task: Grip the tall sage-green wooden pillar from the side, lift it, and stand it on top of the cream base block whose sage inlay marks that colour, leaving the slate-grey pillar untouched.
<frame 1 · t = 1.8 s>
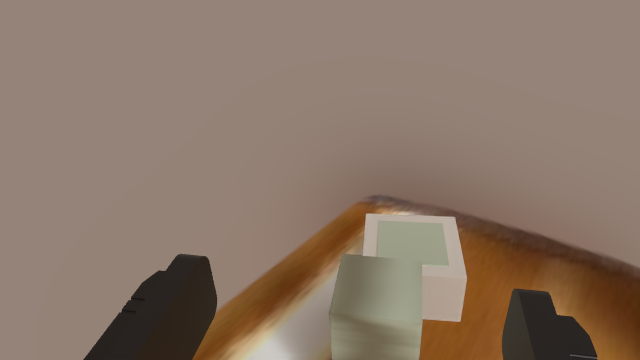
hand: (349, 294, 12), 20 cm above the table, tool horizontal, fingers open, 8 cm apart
cream base block: (408, 285, 40), on the table
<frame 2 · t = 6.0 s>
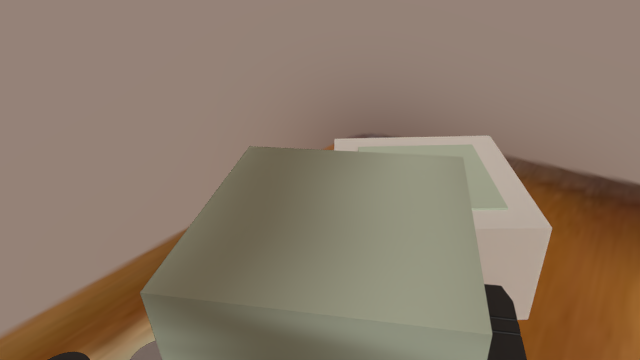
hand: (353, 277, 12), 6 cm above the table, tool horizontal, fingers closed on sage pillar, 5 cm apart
cream base block: (416, 260, 22), on the table
when the fingers open (12 cm above the table, at t = 10.9 s): sage pillar drops 2 cm, point 5 cm above the table.
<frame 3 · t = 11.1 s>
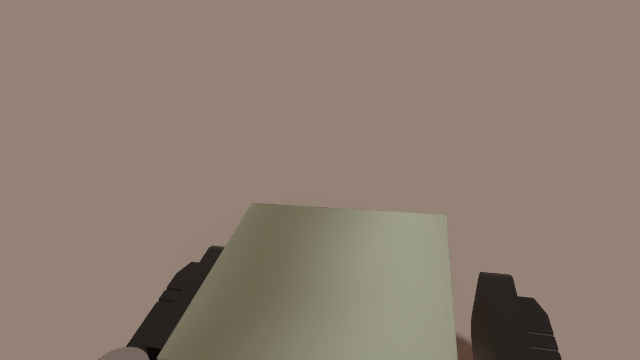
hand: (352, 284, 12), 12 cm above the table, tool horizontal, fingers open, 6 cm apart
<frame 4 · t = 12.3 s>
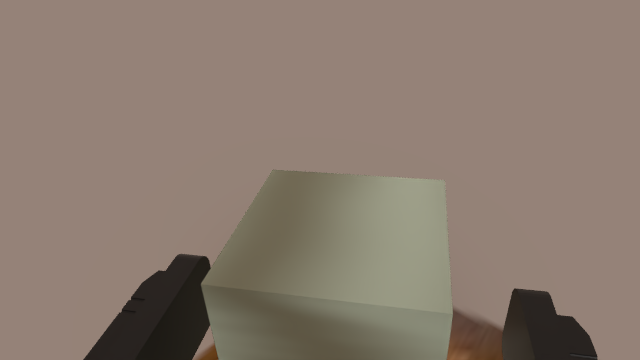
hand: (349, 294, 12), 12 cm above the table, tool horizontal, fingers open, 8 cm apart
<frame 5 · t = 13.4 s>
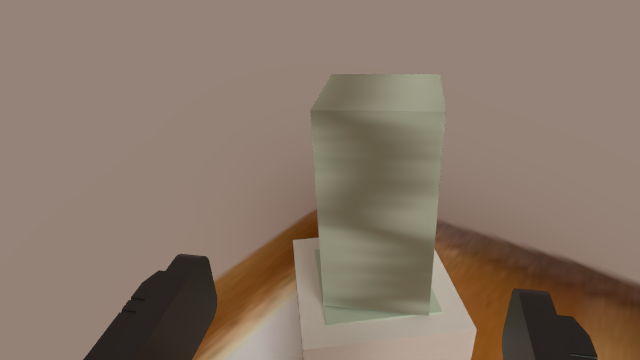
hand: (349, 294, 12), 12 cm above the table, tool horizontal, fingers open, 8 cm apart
sage pillar: (378, 276, 24), point 5 cm above the table
cream base block: (370, 342, 26), on the table
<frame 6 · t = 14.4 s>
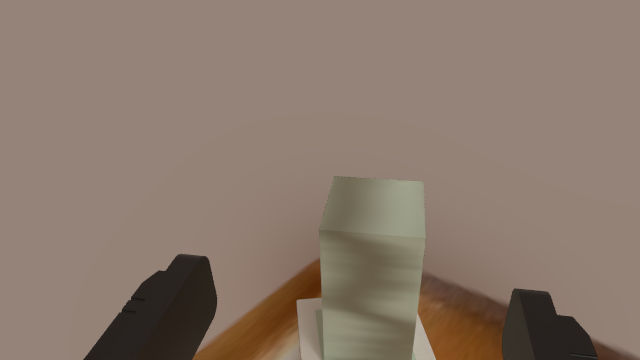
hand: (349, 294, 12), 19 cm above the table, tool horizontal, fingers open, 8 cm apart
sage pillar: (369, 334, 28), point 5 cm above the table
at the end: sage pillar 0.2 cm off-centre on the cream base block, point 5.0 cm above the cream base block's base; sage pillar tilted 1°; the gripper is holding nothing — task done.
